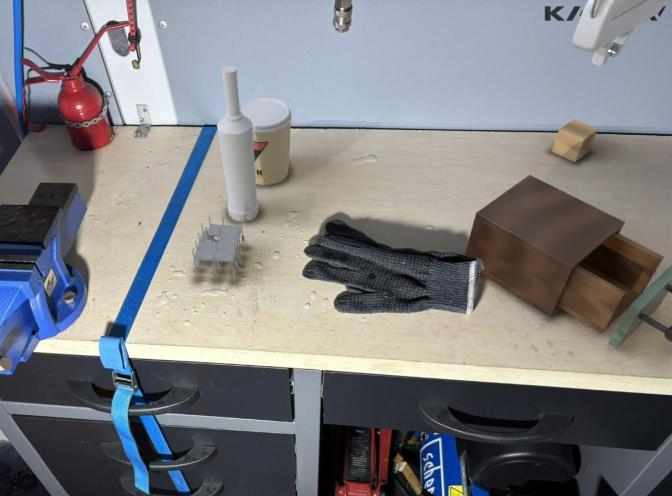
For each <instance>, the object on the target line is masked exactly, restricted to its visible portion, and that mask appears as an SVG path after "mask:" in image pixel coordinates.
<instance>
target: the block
mask: <svg viewBox="0 0 672 496" xmlns="http://www.w3.org/2000/svg"><path fill="white" fill-rule="evenodd" d="M598 131H599V129H598V128H596V127H593V126H591V125H589V124H588V123H587V124H586V123H584V122H582V121H580V120H578V119H577V120H576V119H572V120H571V121H569V122H567V123H566V124H565V125H563V126H562V127H560V128H559V129H558V132H557V135H556V138H555V140H554V144H553V146H552V149H551V153H553V154H555V155H558V156H560V157H562V158H564V159H566V160H569V161H570V162H573V163H576V162H578V161H579V160H580V159H582V158H583V157H585V156H586V155H588V153H590V151H591V149H592V146H593V143H594V141H595V138H596V137H597V134H598Z"/></svg>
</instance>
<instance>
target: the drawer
mask: <svg viewBox="0 0 672 496" xmlns="http://www.w3.org/2000/svg"><path fill="white" fill-rule="evenodd" d="M664 259H665V256H664V255H662V254H660V253H657V252H656V251H654V250H652V249H650V248H648V247H645V246H644V245H642V244H640V243H638V242H636V241H634V240H632V239H630V238H628V237H627V236H624V235H623V234H620V233H619V234H618V233H617V232H616V233H615V234H614V235H612V236H611V237H610V238H609V239H608V240H607V241H605V242H604V243H603V244H602V245H601V246H600V247H598V248H597V249H596V250H595V251H594V252H593V253H592V254H590V255H589V256H588V257H587V258H586V259H585V260H583V261H582V262H581V263H580V264H579V265H578V266H576V267H575V268H574V270H573V272H572V274H571V276H570V279H569V281H568V283H567V285H566V287H565V289H564V292H563V294H562V296H561V298H560V300H559V303H558V305H557V306H558V307H560V309H561V310H563V311H564V312H566V313H568V314H569V315H571V316H572V317H574V318H576V319H577V320H579V321H580V322H582V323H584V324H586V325H587V326H589V327H590V328H592V329H594V330H595V331H597V332H598V333H600V334H603V333H605V331H606V330H607V329H609V327H611V325H613V324H614V323H615V322H616V321H617V320H618V319H619V317H621V316H622V315H623V314H624V315H623V317H622V319H621V321H620V322H619V324H618V325H617V328H616V329H615V331H614V332H613V334H612V335H611V338H610V339H609V340H608V343H607V344H608V345H609V346H611V347H612V348H614V349H615V350H618V348H619V347H620V346H621V345H622V344H623V343H624V342H626V341H627V339H629V337H630V336H631V335H632V334H633V333H634V332H636V330H637V329H639V327H640V326H641V325H642V324H643V323H646V324H648V325H649V326H651V327H653V328H655V329H656V330H658V331H659V332H661V333H663V335H664V338H665V339H666V340H667V341H669V342H671V343H672V324H671V325H670V326H669V327H668V326H666V325H665V324H663V323H661V322H659V321H657V320H656V319H654V318H652V317H651V315H652V314H653V313H654V312H655V311H656V310H657V309H658V308H659V307H660V306H661V305H662V303H663V302H664V301H665V299H666V297H667V295H668V294H669V293H671V294H672V264H671V265H670V266H669V267H668V268H667V269H665V271H663V272H662V273H661V275H659V276H658V277H657V278H656V279H655V280H654V281H653V282H652V283H651V284H650V285H649V283H650V281H652V279H653V277H654V276H655V274H656V272H657V270H658V268H659V267H660V266H661V263H662V262H663V260H664Z"/></svg>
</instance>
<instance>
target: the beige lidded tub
mask: <svg viewBox="0 0 672 496" xmlns="http://www.w3.org/2000/svg"><path fill="white" fill-rule="evenodd" d="M240 111H241V112H242V113H243V115H244V116H246V117H247V118H249V119H250V120H251V121H252V127H253V144H254V162H255V179H256V185H260V186H271V185H275V184H278V183H280V182H282V181H283V180H285V179H286V177H287V176H288V175H289V169H290V167H289V166H290V152H291V151H290V149H291V129H292V128H291V125H292V117H293V115H292V110H291V109H290V107H289V105H288V104H287V103H285V102H284V101H282V100H280V99H277V98H272V97H259V98H254V99H250V100H247V101H245V102H243V103H242V104H240Z"/></svg>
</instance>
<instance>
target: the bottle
mask: <svg viewBox="0 0 672 496" xmlns="http://www.w3.org/2000/svg"><path fill="white" fill-rule="evenodd" d="M220 71H221V78H222V79H221V80H222V84H223V93H224V101H225V113H224V116H223V117H222V118H221V119H220V120H219V121H218V123H217V124H216V128H217V134H218V141H219V147H220V154H221V160H222V167H223V174H224V180H225V187H226V193H227V194H226V195H227V200H228V202H227V211H228V214H229V217H230V218H231V219H232V220H233V221H236V222H239V223H241V221H242V223H245V222H246V223H247V222H250V221H252V220H254V219H255V218H257V216H258V215H259V210H260V203H259V200H258V199H257V184H256V179H255V162H254V144H253V127H252V121H251V120H250V119H249V118H247V117H246V116H244V115H243V113H242V112H241V111H240V106H241V104H240V97H239V86H238V85H239V84H238V71H237V67H236V66H234V65H225V66H223V67H222V68H221V69H220Z"/></svg>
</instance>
